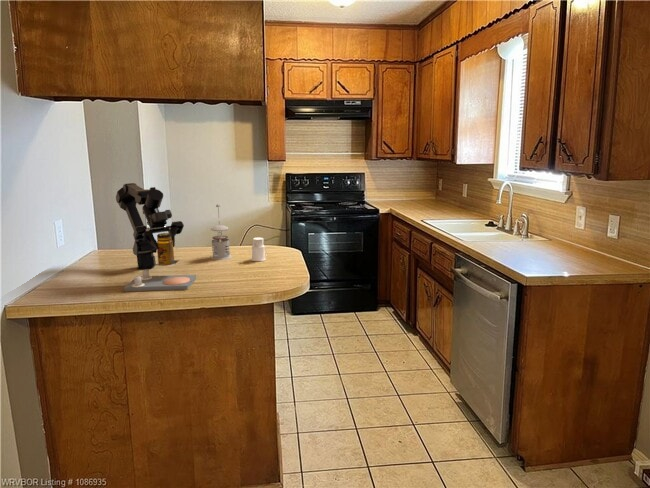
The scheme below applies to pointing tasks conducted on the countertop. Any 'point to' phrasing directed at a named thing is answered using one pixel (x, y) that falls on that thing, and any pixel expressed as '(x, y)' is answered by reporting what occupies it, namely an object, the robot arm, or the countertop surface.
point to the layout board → (160, 282)
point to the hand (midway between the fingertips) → (166, 247)
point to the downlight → (258, 250)
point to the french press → (220, 243)
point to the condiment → (165, 250)
